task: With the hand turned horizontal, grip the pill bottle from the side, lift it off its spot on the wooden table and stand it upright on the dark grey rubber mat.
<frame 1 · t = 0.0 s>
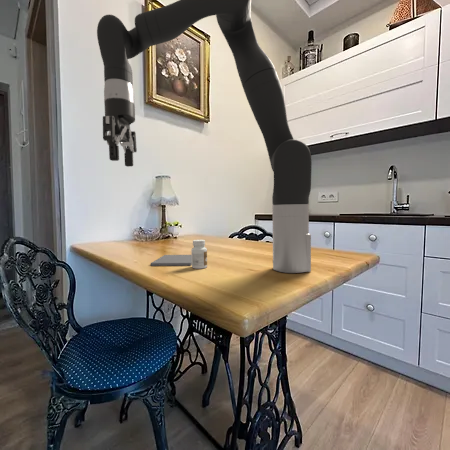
hand: (122, 163, 70), 29 cm above the table, tool pointing down, fingers open, 8 cm apart
pill bottle: (199, 268, 73), on the table
mat: (176, 261, 83), on the table
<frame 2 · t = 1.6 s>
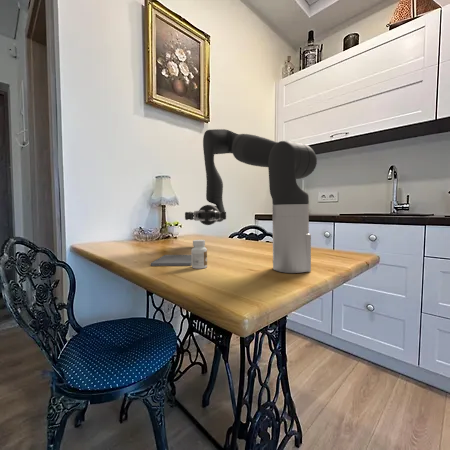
hand: (203, 216, 83), 14 cm above the table, tool horizontal, fingers open, 8 cm apart
nothing on the table moved.
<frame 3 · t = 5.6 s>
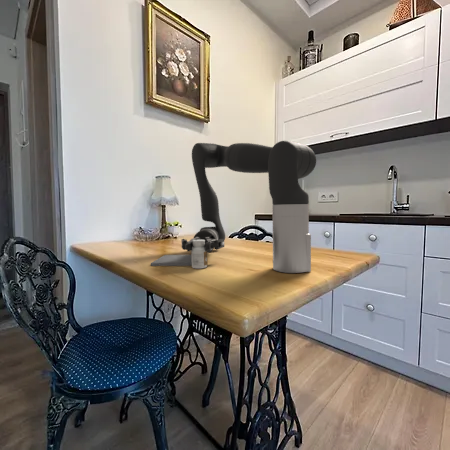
hand: (197, 247, 70), 6 cm above the table, tool horizontal, fingers closed on pill bottle, 4 cm apart
pill bottle: (199, 267, 73), on the table, touching gripper
when the fingers open (8 cm above the table, at t = 10.5 s): pill bottle drops 1 cm, resting on mat.
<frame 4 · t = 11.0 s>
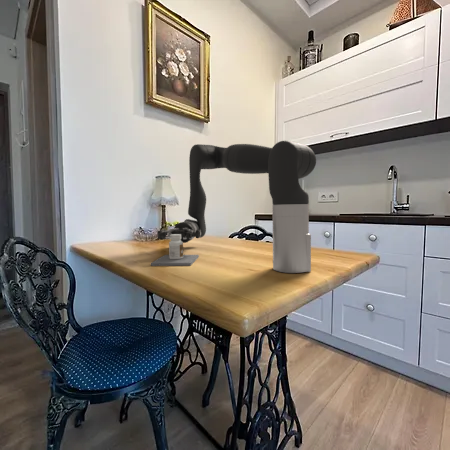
hand: (174, 236, 81), 8 cm above the table, tool horizontal, fingers open, 8 cm apart
pill bottle: (176, 259, 83), point 1 cm above the table, touching mat
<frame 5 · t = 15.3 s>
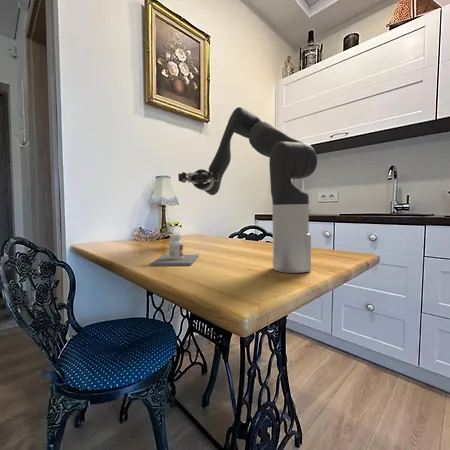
hand: (195, 175, 86), 28 cm above the table, tool horizontal, fingers open, 8 cm apart
nothing on the table moved.
at the end: pill bottle inside the target area on the mat (0.1 cm from its centre), point 0.6 cm above the mat's base; pill bottle tilted 0°; the gripper is holding nothing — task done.
